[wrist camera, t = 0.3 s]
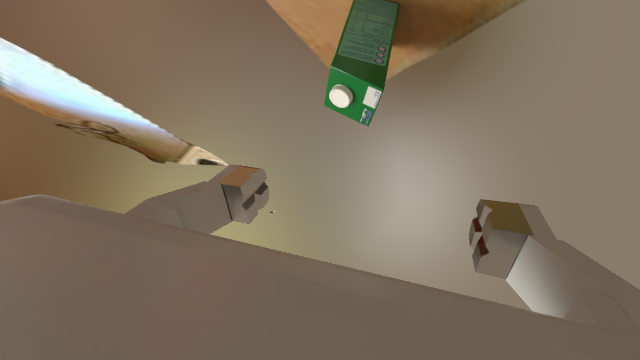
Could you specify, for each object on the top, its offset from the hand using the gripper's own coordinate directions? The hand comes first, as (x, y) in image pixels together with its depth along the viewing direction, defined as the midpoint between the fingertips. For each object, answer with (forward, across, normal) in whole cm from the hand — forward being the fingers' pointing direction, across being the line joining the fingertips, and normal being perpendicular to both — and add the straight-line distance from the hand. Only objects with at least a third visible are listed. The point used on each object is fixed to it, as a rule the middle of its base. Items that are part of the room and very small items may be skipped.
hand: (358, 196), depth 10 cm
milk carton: (+58, +9, -5) cm, 58 cm away
